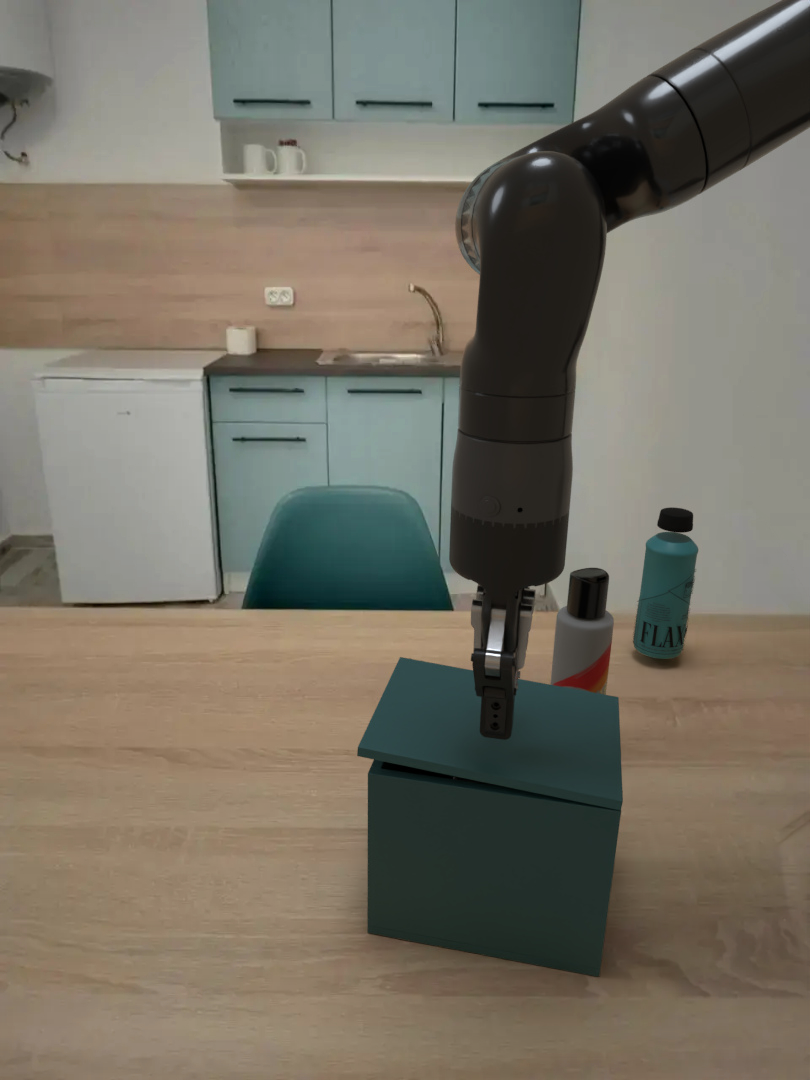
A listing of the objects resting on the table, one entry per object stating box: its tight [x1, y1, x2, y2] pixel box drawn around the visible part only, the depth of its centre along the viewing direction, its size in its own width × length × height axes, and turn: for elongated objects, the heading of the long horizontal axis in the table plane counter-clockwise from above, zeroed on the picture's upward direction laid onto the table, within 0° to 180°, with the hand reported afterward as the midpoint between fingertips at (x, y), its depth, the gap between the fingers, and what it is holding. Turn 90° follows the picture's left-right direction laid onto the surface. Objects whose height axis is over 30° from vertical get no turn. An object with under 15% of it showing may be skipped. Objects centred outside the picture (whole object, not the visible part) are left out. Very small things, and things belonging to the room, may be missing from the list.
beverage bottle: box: [631, 506, 699, 660], centre depth 103 cm, size 6×7×20 cm
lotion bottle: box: [550, 567, 615, 695], centre depth 85 cm, size 6×6×20 cm
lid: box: [356, 656, 624, 811], centre depth 63 cm, size 18×14×1 cm
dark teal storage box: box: [366, 759, 622, 978], centre depth 66 cm, size 18×14×15 cm
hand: (496, 732), depth 59 cm, fingers closed
